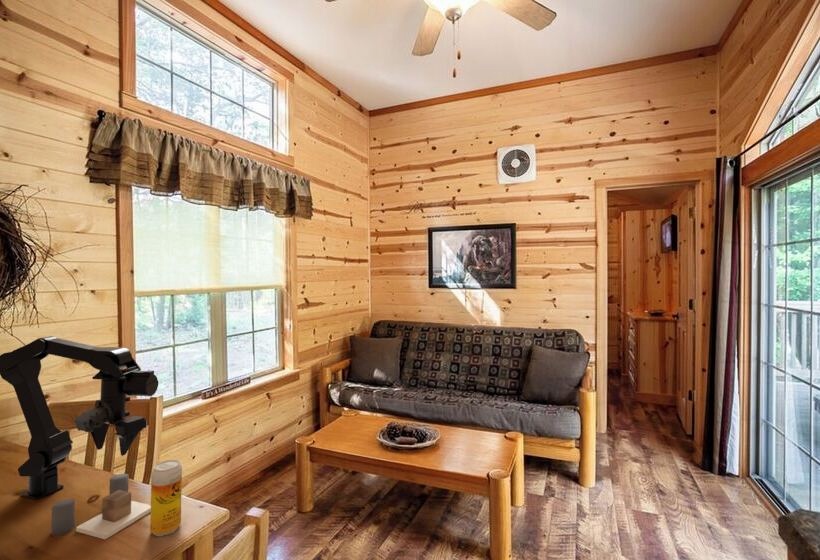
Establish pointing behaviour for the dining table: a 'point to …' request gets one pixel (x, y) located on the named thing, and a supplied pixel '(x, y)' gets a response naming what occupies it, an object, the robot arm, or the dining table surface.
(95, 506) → the dining table surface
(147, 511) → the ceramic tile
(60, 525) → the post
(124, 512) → the walnut block
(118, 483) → the post
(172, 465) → the yellow canister
